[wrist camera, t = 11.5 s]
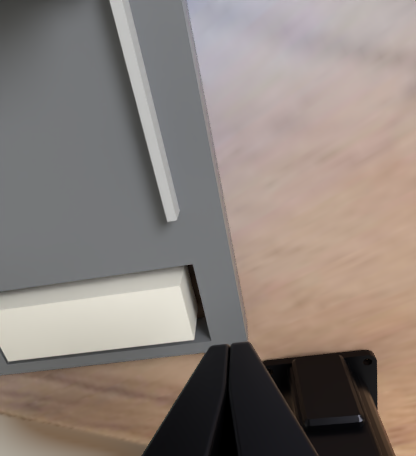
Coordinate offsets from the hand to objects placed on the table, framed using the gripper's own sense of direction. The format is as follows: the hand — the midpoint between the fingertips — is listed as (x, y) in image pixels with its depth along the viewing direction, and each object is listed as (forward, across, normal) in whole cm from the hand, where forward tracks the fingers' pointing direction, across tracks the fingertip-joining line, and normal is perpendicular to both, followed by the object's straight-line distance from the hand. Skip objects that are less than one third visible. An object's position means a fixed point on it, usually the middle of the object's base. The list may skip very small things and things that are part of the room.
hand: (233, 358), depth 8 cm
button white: (+11, +8, +5) cm, 14 cm away
